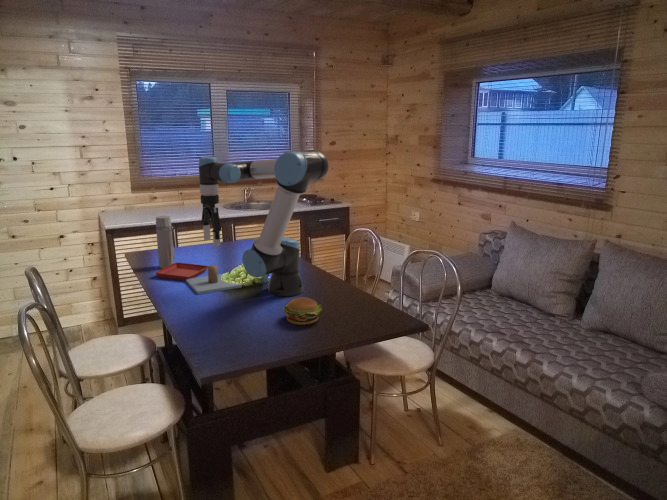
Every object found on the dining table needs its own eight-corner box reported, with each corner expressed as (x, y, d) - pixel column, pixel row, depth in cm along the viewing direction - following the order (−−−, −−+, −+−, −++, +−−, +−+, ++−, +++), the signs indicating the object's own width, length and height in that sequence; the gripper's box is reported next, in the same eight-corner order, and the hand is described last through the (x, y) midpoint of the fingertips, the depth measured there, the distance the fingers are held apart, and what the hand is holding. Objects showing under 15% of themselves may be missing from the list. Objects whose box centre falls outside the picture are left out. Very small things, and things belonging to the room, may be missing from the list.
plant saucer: (209, 272, 241) (209, 265, 240) (189, 283, 224) (189, 276, 223) (176, 268, 246) (176, 262, 245) (154, 279, 229) (153, 272, 228)
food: (288, 329, 178) (288, 308, 175) (280, 314, 191) (280, 294, 189) (325, 325, 181) (326, 304, 179) (316, 311, 194) (316, 291, 192)
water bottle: (155, 267, 246) (151, 217, 239) (167, 264, 252) (163, 214, 246) (169, 270, 241) (165, 219, 235) (180, 266, 248) (177, 216, 242)
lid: (241, 287, 218) (241, 269, 216) (197, 294, 209) (196, 275, 207) (227, 275, 234) (226, 258, 232) (185, 281, 225) (184, 263, 223)
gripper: (227, 197, 204) (230, 248, 210) (209, 190, 225) (211, 236, 230) (209, 198, 201) (212, 250, 206) (192, 191, 221) (195, 238, 227)
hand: (212, 243), depth 218 cm, fingers open, 13 cm apart
